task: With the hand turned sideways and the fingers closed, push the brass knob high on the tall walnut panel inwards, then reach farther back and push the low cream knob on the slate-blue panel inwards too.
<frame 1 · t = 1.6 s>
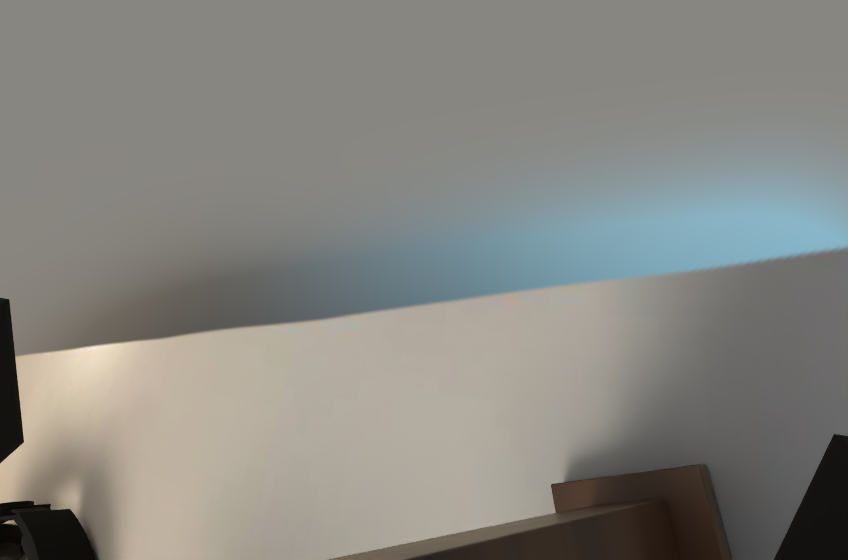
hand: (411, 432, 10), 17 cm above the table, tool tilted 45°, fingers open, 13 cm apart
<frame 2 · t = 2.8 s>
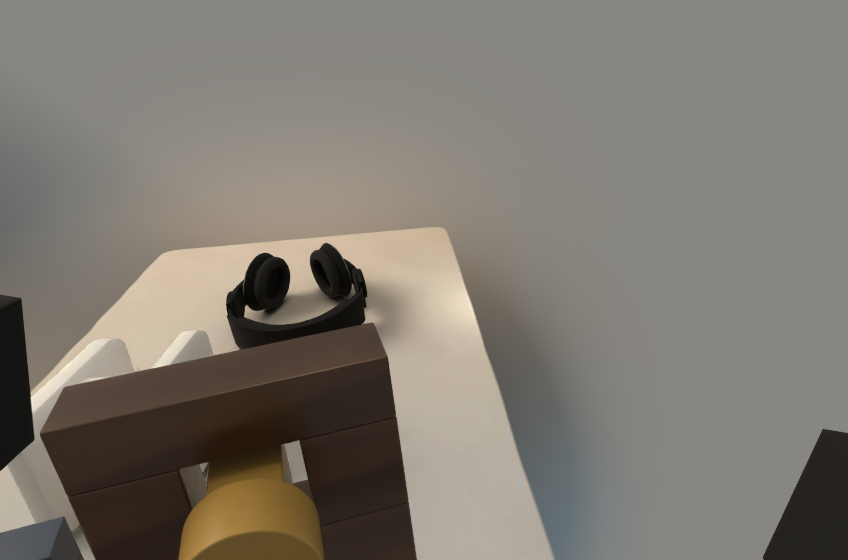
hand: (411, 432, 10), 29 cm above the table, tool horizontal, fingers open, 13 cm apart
headphones: (302, 321, 79), on the table
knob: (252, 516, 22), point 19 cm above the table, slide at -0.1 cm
cable organizer: (150, 481, 53), on the table
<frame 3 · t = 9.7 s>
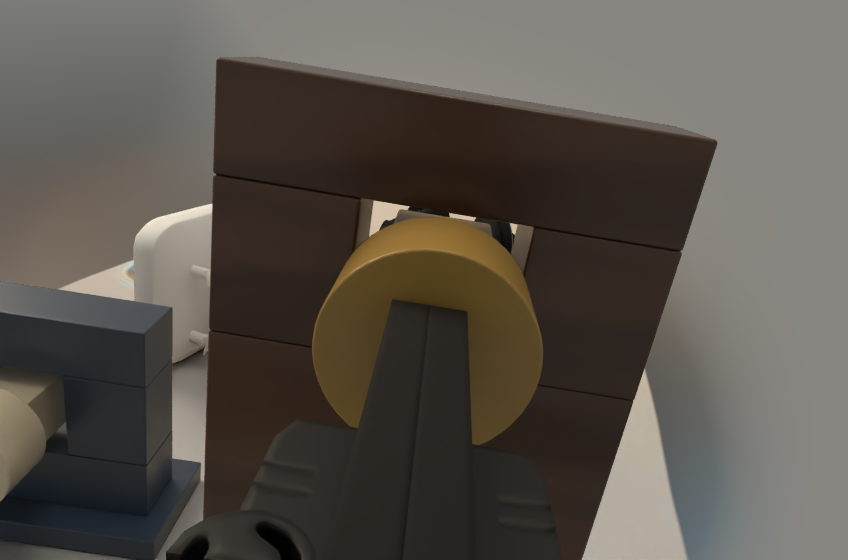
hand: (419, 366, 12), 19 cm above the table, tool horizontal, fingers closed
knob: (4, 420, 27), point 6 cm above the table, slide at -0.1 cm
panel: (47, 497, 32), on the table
headphones: (446, 277, 72), on the table
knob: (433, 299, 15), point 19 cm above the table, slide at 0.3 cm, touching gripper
cable organizer: (252, 355, 49), on the table
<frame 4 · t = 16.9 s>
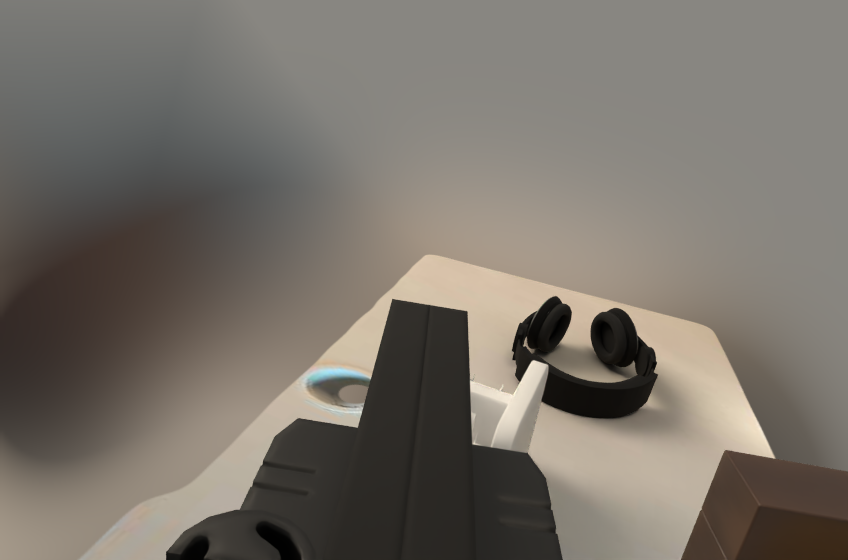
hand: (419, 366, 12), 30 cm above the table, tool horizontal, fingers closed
headphones: (575, 377, 78), on the table
cable organizer: (451, 487, 54), on the table
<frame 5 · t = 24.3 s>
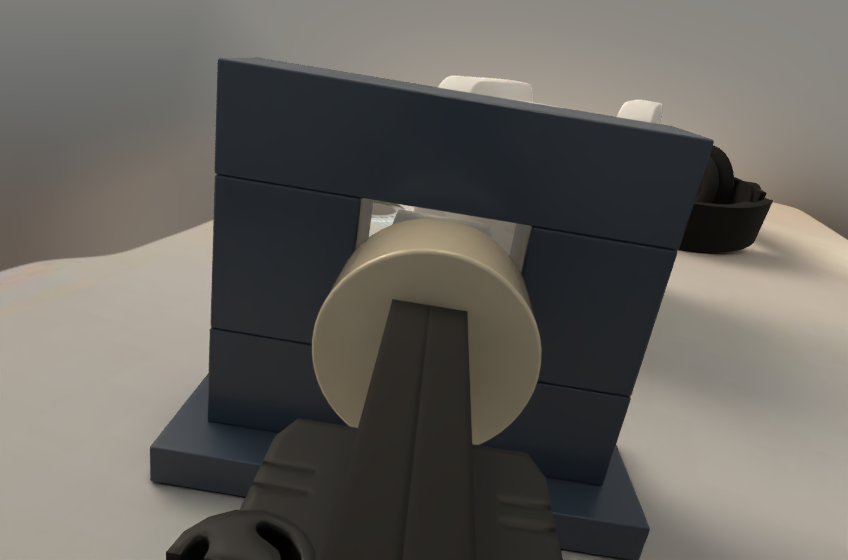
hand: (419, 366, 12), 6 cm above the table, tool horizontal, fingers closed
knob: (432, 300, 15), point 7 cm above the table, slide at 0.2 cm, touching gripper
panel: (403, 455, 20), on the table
headphones: (653, 223, 60), on the table
cable organizer: (518, 288, 37), on the table
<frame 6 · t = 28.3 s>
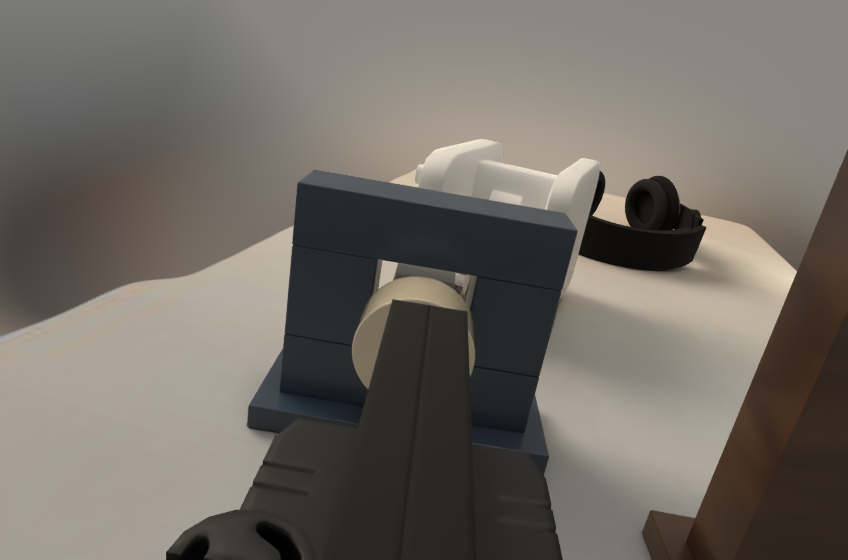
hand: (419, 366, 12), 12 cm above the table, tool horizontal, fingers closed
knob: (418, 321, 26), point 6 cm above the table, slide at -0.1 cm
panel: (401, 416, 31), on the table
headphones: (612, 243, 71), on the table
cable organizer: (489, 301, 48), on the table
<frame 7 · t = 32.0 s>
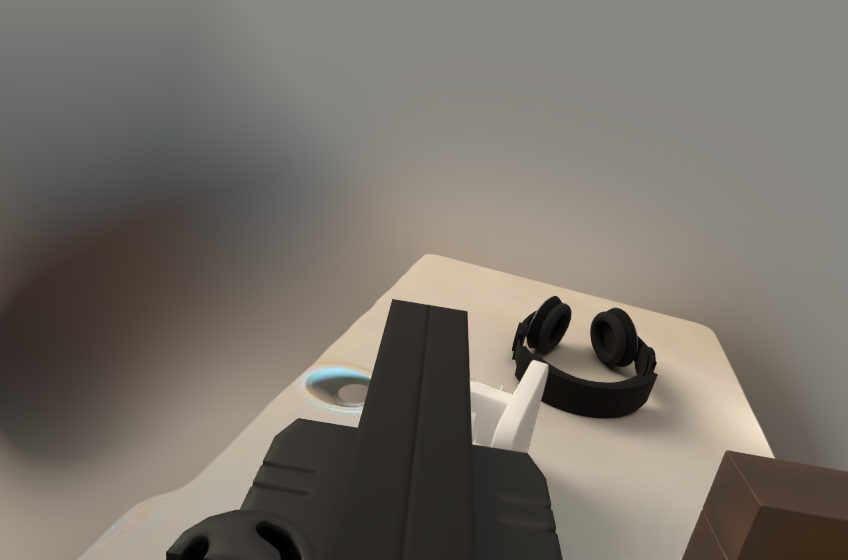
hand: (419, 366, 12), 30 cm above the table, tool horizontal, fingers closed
headphones: (575, 376, 78), on the table
cable organizer: (451, 487, 54), on the table
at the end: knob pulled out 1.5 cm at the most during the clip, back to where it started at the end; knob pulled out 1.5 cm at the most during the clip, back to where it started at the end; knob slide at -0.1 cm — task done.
